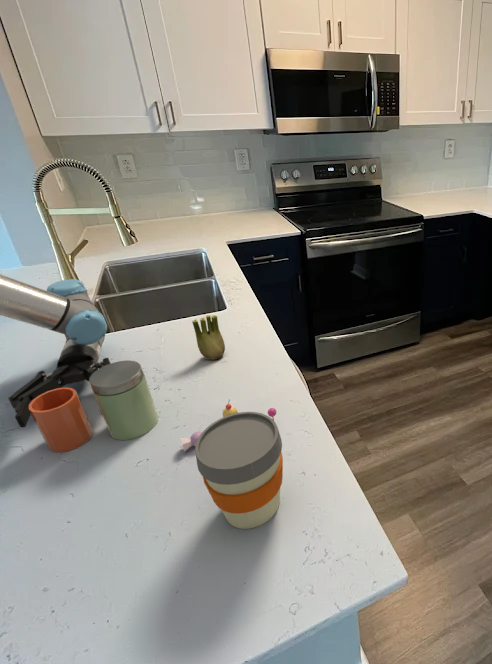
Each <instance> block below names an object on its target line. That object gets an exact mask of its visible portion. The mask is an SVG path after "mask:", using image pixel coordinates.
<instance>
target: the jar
mask: <svg viewBox="0 0 492 664" xmlns="http://www.w3.org/2000/svg"><path fill="white" fill-rule="evenodd" d="M143 374H144V375H143V379H142V380H141V381H140V382H139V383H138V384H137V385H136V386H134V387H133V388H131V389H129V390H127V391H124V392H121V393H118V394H113V395H99V394H96V393H95V392H94V391H92V393H93V396H94V398H95V400H96V403H97V405H98V408H99V411H100V413H101V415H102V418H103V420H104V422H105V425H106V427H107V429H108V432H109V434H110V436H111V437H112V438H113V439H115V440H118V441H128V440H129V441H130V440H133V439H136V438H140V437H141V436H144V435H145V434H148V433H149V432H150V431H152V430H153V429H154V428H155V426H156V425H157V424H158V422H159V415H158V411H157V409H156V406H155V403H154V399H153V397H152V393H151V390H150V388H149V385H148V381H147V378H146V375H145V373H144V372H143Z"/></svg>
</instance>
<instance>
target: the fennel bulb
mask: <svg viewBox="0 0 492 664" xmlns="http://www.w3.org/2000/svg"><path fill="white" fill-rule="evenodd" d="M191 322H192V323H191V324H192V325H193V329H194V333H195V338H196V344H197V348H198V350H199V353H200V354H201V355H202V357H203V358H204V359H208V360H212V361H214V360H219V359H221V358H222V357H223V355H224V354H225V351H226V345H225V340H224V337H223V335H222V333H221V330H220V327H219V321H218V316H217V315H215V314H213V315H208V314H207V315H205V317H201V318H200V319H199V321H198V320H197V319H196V318H195V319H193V320H192V321H191ZM199 322H200V324H199ZM200 327H201V328H200Z"/></svg>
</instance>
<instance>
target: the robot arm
mask: <svg viewBox="0 0 492 664" xmlns="http://www.w3.org/2000/svg"><path fill="white" fill-rule="evenodd" d="M0 316H1V317H5V318H8V319H12V320H16V321H17V322H18V321H19V322H22V323H25V324H29V325H32V326H35V327H39V328H42V329H45V330H48V331H53V332H55V333H59V334H62V335H64V337H65V343H64V345H63V348H62V350H61V353H60V355H59V358H58V360H57V363H56V368H55V369H54V370H53V371H51V372H47V373H46V372H45V370H40V371H38V372H37V373H36V375H35V376H34V377H33V378H32V379H30V380H29V381H28V382H26V383H25V384H24V385H23V386H22V387H20V388H19V389H17V390H15V392H14V393H12V394H11V395H10V396H8V398H7V399H8V402H9V403H10V405H11V407H12V408H13V409H14V412H15V415H14V419H15V420H16V422H17V424H18V426H19V427H20V429H22V428H26V427H27V424H28V422H29V419H30V418H31V416H32V415H31V413H30V411H29V404H30V403H31V402H32V400H33V399H35V398H36V397H38V396H39V395H41V394H43V393H45V392H47V391H50V390H54V389H57V388H64V387H65V386H67V385H71V384H74V383H80V382H83V381H87V382H89V379H90V376H91V375H92V374H93V373H94V372H95V371H97V370H98V369H100V368H101V367H103V366H106V365H108V364H111V363H112V362H111V361H110V358H109V357H105V358H103V359H102V361H101V362H99V359H100V357H101V356H100V354H101V351H102V346H103V343H104V341H105V337H106V333H107V331H108V324H107V321H106V319H105V317H104V315H103V313H101V311H99V310H98V308H97V307H96V306H95V304H94V303H93V301H92V300H91V299H90V296H89V294H88V290H87V289H86V286H85V284H84V282H83V281H82V280H81V279H75V278H71V279H70V278H69V279H63V280H58V281H55V282H52V283H50V284H49V285H48V286H47V288H46V290H45V289H43V288H40V287H37V286H35V285H31V284H29V283H26V282H24V281H20V280H17V279H16V278H15V279H14V278H12V277H9V276H7V275H3V274H1V273H0Z"/></svg>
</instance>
